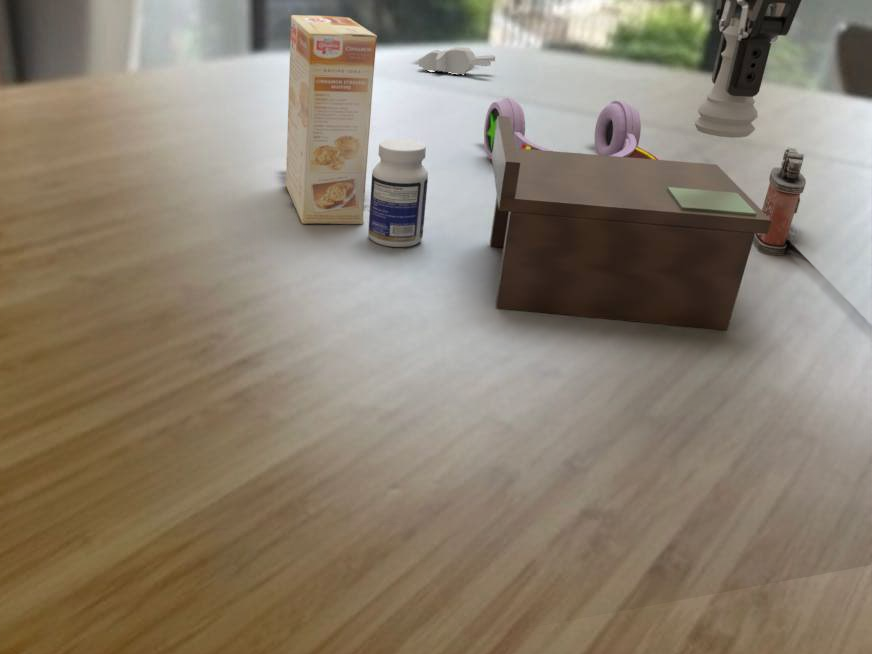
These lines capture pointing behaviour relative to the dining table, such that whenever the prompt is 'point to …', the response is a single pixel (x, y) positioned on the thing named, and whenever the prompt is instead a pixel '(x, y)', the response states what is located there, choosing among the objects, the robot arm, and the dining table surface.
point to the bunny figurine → (454, 60)
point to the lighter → (781, 203)
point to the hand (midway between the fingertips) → (733, 89)
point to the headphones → (612, 129)
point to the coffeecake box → (329, 117)
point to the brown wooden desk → (619, 235)
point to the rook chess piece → (727, 99)
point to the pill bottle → (398, 194)
